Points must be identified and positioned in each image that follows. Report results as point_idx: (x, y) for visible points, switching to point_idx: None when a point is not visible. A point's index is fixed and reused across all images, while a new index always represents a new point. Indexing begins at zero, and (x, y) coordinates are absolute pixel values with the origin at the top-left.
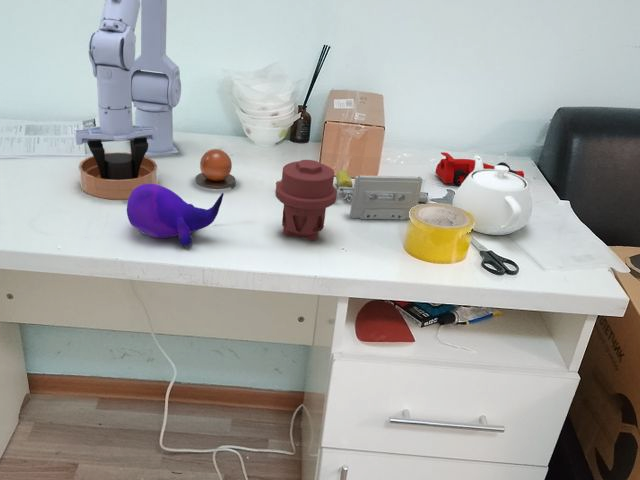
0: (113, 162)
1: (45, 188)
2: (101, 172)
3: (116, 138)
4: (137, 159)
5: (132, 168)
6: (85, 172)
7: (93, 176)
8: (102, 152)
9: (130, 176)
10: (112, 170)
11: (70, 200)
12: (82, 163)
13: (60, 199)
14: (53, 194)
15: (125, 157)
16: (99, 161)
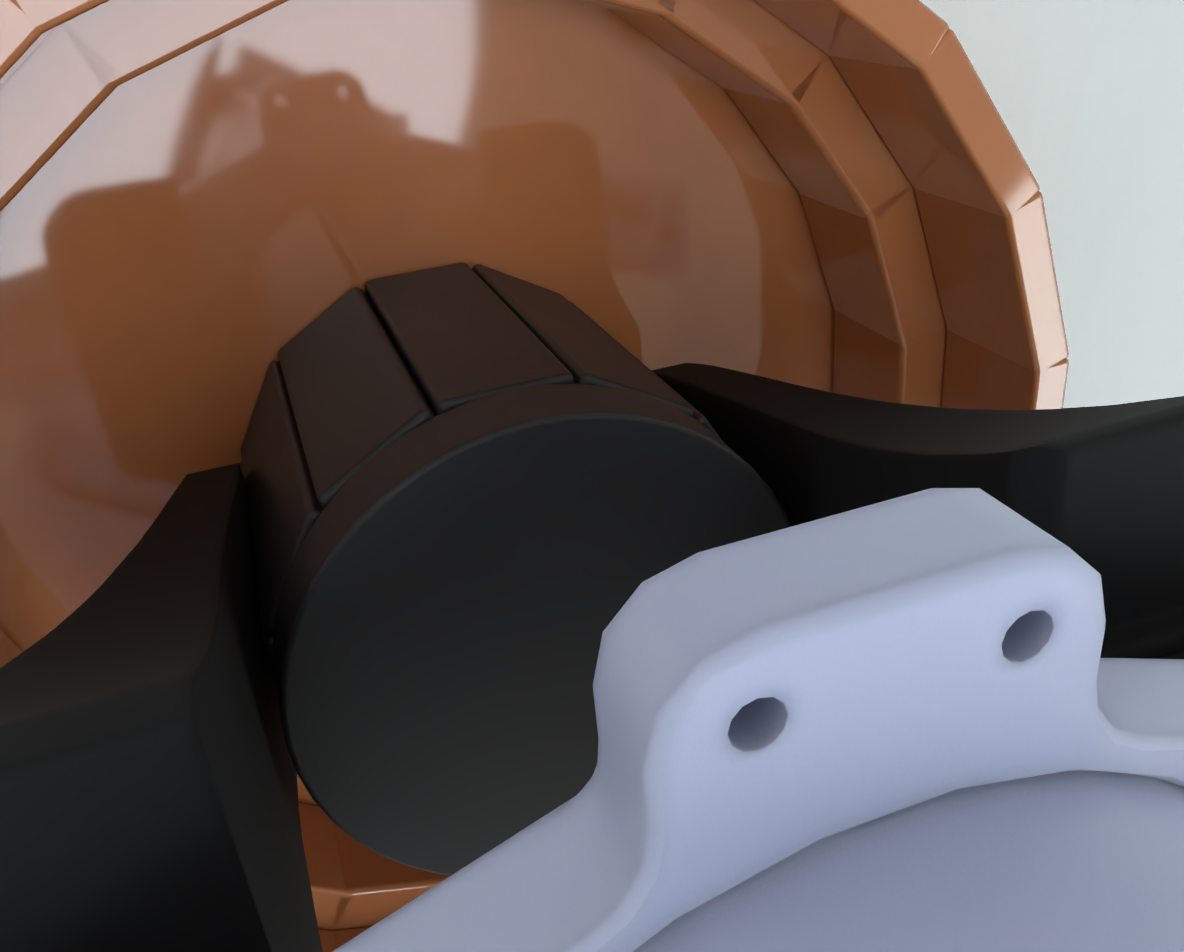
0: (669, 449)
1: (1168, 372)
2: (779, 385)
3: (1045, 536)
4: (163, 609)
5: (273, 539)
6: (1025, 297)
7: (961, 115)
8: (1015, 445)
9: (302, 409)
10: (638, 373)
11: (1039, 24)
12: None
13: (1123, 66)
14: (1147, 216)
15: (426, 708)
16: (922, 418)
